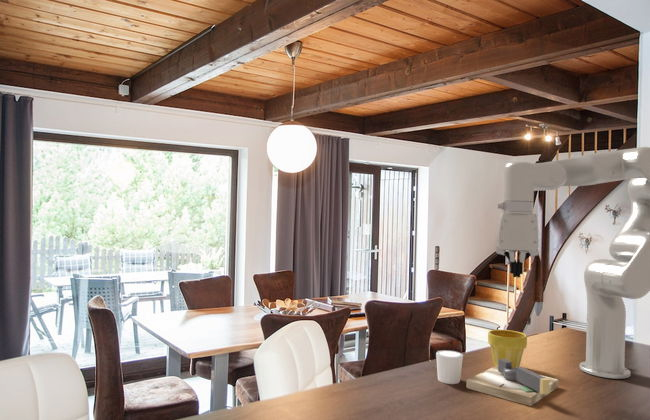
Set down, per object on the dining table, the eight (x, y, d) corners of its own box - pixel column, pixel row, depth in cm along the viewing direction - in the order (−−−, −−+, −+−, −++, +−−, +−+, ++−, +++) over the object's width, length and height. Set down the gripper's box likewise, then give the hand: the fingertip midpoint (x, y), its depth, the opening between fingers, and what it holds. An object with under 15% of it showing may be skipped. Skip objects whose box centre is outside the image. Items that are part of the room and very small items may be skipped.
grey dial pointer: (493, 372, 131) (494, 359, 131) (508, 371, 132) (508, 358, 132) (538, 395, 115) (538, 380, 115) (553, 393, 117) (554, 379, 117)
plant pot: (503, 360, 151) (504, 327, 151) (533, 369, 142) (534, 335, 142) (479, 365, 145) (480, 331, 145) (509, 375, 136) (510, 339, 136)
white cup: (463, 386, 127) (464, 358, 127) (435, 383, 129) (436, 356, 129) (461, 377, 134) (462, 351, 134) (435, 374, 136) (435, 348, 136)
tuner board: (497, 372, 139) (497, 364, 139) (559, 387, 128) (559, 378, 128) (466, 388, 126) (466, 379, 126) (532, 406, 115) (532, 396, 115)
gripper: (489, 207, 133) (487, 276, 133) (550, 209, 129) (548, 280, 129) (488, 207, 140) (486, 273, 141) (546, 209, 136) (544, 276, 136)
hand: (516, 276), depth 135 cm, fingers closed
